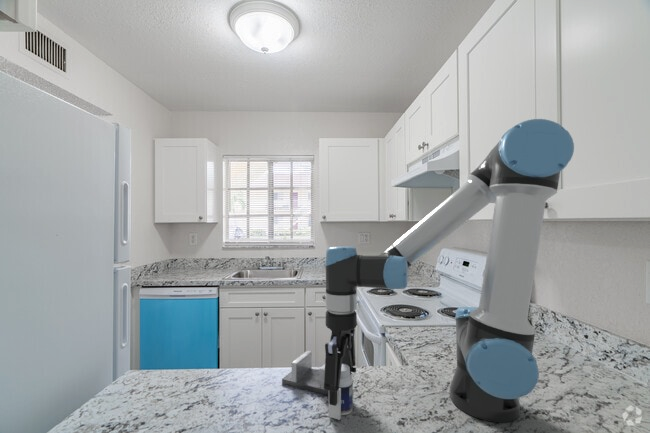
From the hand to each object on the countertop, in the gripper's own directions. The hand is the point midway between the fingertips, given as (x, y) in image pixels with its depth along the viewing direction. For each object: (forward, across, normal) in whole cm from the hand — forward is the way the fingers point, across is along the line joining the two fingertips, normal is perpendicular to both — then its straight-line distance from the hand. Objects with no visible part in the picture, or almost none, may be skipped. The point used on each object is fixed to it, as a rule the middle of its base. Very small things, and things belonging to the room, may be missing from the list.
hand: (341, 407), depth 69 cm
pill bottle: (0, 0, 0) cm, 0 cm away
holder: (0, -8, -11) cm, 14 cm away
